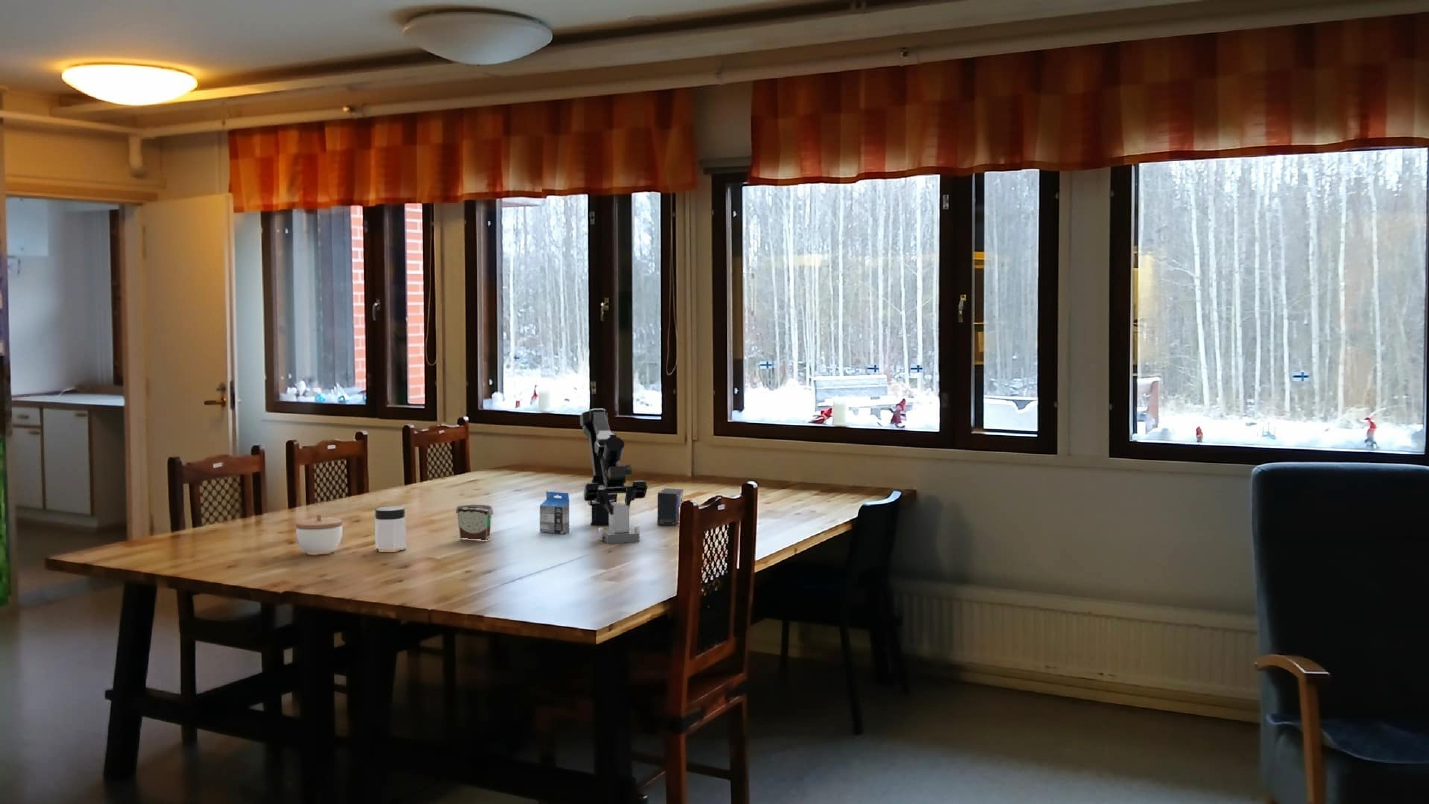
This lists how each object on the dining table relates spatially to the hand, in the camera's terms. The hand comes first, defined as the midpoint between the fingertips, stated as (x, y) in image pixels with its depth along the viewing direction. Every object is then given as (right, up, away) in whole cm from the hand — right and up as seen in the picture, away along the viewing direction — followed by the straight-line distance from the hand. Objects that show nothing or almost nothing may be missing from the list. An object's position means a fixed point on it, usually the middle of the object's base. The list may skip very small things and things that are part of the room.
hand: (619, 513), depth 355 cm
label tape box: (-21, -7, +14) cm, 26 cm away
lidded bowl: (-84, -10, -16) cm, 86 cm away
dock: (0, -8, +2) cm, 8 cm away
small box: (+14, -6, +29) cm, 33 cm away
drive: (0, -7, +2) cm, 8 cm away
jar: (-64, -9, -13) cm, 66 cm away
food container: (-42, -8, +3) cm, 43 cm away
